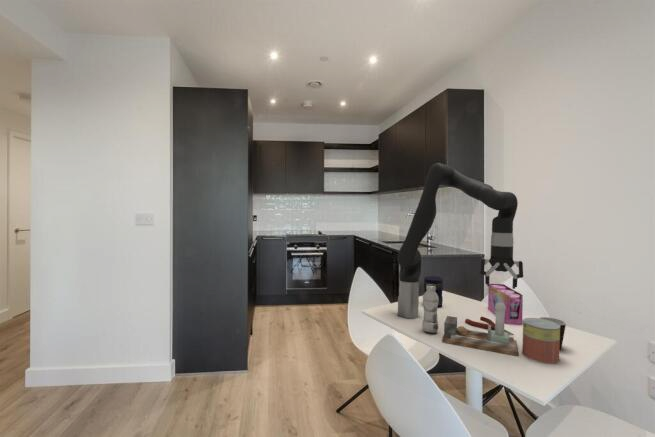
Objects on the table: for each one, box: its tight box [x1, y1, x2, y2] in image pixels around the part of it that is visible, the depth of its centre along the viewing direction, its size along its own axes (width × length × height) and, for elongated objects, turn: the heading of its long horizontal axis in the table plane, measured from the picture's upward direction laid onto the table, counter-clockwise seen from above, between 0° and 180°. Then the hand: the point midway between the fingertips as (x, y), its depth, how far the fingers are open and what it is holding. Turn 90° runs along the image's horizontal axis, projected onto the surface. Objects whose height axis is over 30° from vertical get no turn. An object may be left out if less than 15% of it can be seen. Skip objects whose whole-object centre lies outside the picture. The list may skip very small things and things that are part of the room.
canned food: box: [521, 317, 561, 365], centre depth 117 cm, size 11×11×12 cm
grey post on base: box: [487, 302, 510, 344], centre depth 125 cm, size 7×7×15 cm
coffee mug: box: [539, 316, 567, 351], centre depth 127 cm, size 12×9×10 cm
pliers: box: [464, 316, 515, 336], centre depth 144 cm, size 12×20×3 cm, turn 22°
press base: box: [441, 315, 519, 357], centre depth 128 cm, size 26×12×8 cm, turn 63°
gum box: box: [487, 283, 524, 325], centre depth 160 cm, size 24×8×14 cm, turn 172°
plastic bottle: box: [421, 284, 439, 334], centre depth 139 cm, size 6×7×20 cm
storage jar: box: [423, 275, 444, 309], centre depth 177 cm, size 10×10×15 cm
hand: (500, 287), depth 124 cm, fingers open, 8 cm apart
